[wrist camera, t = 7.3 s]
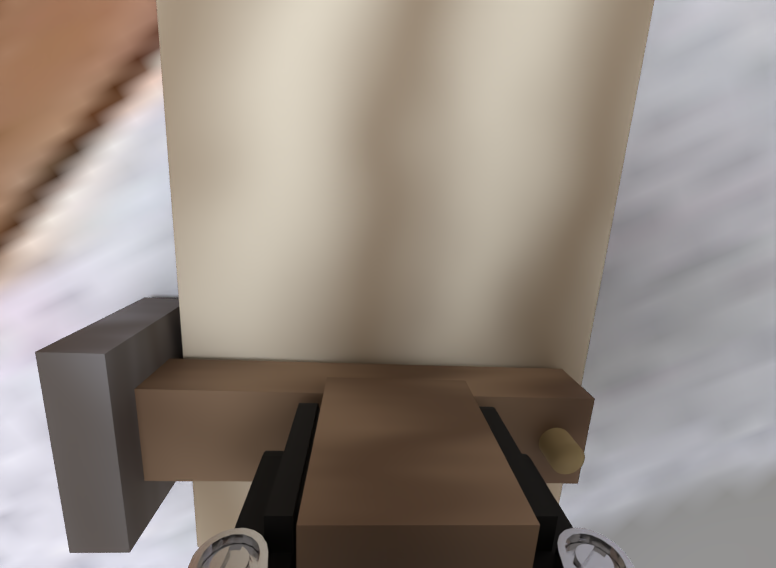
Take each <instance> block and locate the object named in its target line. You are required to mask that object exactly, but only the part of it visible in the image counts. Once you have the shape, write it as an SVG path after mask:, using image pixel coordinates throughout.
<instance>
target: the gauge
mask: <svg viewBox="0 0 776 568" xmlns="http://www.w3.org/2000/svg"><path fill="white" fill-rule="evenodd" d="M35 354H36V360H37V366H38V372H39V377H40V383H41V389H42V395H43V401H44V406H45V412H46V418H47V424H48V430H49V435H50V441H51V447H52V453H53V459H54V464H55V470H56V476H57V482H58V488H59V493H60V499H61V505H62V511H63V517H64V522H65V528H66V534H67V540H68V545H69V551H70V553H121V552H130V551H131V550H132V548H133V547H134V545H135V544H136V542H137V541H138V539H139V537H140V536H141V534H142V533H143V531H144V530H145V528H146V527H147V525H148V524H149V522H150V520H151V519H152V517H153V516H154V514H155V513H156V511H157V510H158V508H159V506H160V505H161V503H162V502H163V500H164V499H165V497H166V496H167V494H168V493H169V491H170V489H171V488H172V486H173V485H174V483H175V482H176V481H243V482H252V481H253V479H254V476H255V473H256V471H257V468H258V466H259V463H260V460H261V458H262V455H263V453H264V452H265V451H284V449H285V446H286V443H287V439H288V436H289V433H290V430H291V427H292V423H293V420H294V417H295V414H296V410H297V407H298V404H299V403H318V404H319V408H320V413H319V418H318V423H317V428H316V432H315V437H314V442H313V447H312V452H311V457H310V462H309V466H308V471H307V476H306V481H305V486H304V491H303V496H302V501H301V505H300V510H299V515H298V520H297V525H296V568H532V567H533V562H534V556H535V550H536V545H537V539H538V534H539V528H540V524H539V522H538V520H537V518H536V516H535V514H534V512H533V510H532V508H531V507H530V505H529V503H528V501H527V499H526V497H525V495H524V493H523V491H522V489H521V487H520V485H519V483H518V481H517V479H516V477H515V476H514V474H513V472H512V470H511V468H510V466H509V464H508V462H507V460H506V458H505V456H504V454H503V452H502V450H501V448H500V446H499V445H498V443H497V441H496V439H495V437H494V435H493V433H492V431H491V429H490V427H489V425H488V423H487V421H486V419H485V417H484V415H483V414H482V412H481V410H480V408H479V406H482V407H494V408H495V409H496V411H497V412H498V414H499V416H500V417H501V419H502V421H503V423H504V424H505V426H506V428H507V429H508V431H509V433H510V435H511V436H512V438H513V440H514V441H515V443H516V445H517V446H518V448H519V450H520V452H521V453H522V454H527V455H528V456H529V457H530V458H531V460H532V461H533V463H534V465H535V466H536V468H537V469H538V471H539V473H540V474H541V476H542V478H543V479H544V481H545V483H578V479H579V474H580V469H581V466H582V465H583V463H584V459H585V455H584V450H585V445H586V440H587V435H588V430H589V425H590V420H591V415H592V410H593V405H594V400H595V399H594V398H593V397H592V396H591V395H590V394H589V393H588V392H587V391H586V390H585V389H584V388H582V387H581V386H580V385H579V384H578V383H577V382H576V381H575V380H574V379H573V378H572V377H571V376H569V375H568V374H567V373H566V372H565V371H564V370H563V369H551V368H513V367H475V366H437V365H399V364H360V363H322V362H284V361H246V360H208V359H183V347H182V334H181V321H180V307H179V299H170V298H143V299H141V300H139V301H137V302H135V303H133V304H131V305H129V306H127V307H125V308H123V309H121V310H119V311H117V312H115V313H113V314H111V315H109V316H107V317H105V318H103V319H101V320H99V321H97V322H95V323H93V324H91V325H89V326H87V327H85V328H83V329H81V330H79V331H77V332H75V333H73V334H71V335H68V336H66V337H64V338H62V339H60V340H58V341H56V342H54V343H52V344H50V345H48V346H46V347H44V348H42V349H40V350H38V351H36V352H35Z"/></svg>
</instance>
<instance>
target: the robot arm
mask: <svg viewBox="0 0 776 568" xmlns="http://www.w3.org/2000/svg"><path fill="white" fill-rule="evenodd" d="M479 408H480V410H481V412H482V414H483V415H484V417H485V419H486V421H487V423H488V425H489V427H490V429H491V431H492V433H493V435H494V437H495V439H496V441H497V443H498V445H499V446H500V448H501V450H502V452H503V454H504V456H505V458H506V460H507V462H508V464H509V466H510V468H511V470H512V472H513V474H514V476H515V477H516V479H517V481H518V483H519V485H520V487H521V489H522V491H523V493H524V495H525V497H526V499H527V501H528V503H529V505H530V507H531V508H532V510H533V512H534V514H535V516H536V518H537V520H538V522H539V524H540V528H539V534H538V539H537V545H536V550H535V556H534V562H533V567H532V568H634V566H633V564H632V562H631V561H630V559H629V558H628V557H627V555H626V553H625V552H624V551H623V550H622V549H621V548H620V547H619V546H618V545H617V544H616V543H614V542H613V541H611V540H610V539H608V538H607V537H606V536H604V535H602V534H599V533H597V532H595V531H592V530H589V529H585V528H573V527H572V525H571V524H570V522H569V520H568V519H567V517H566V516H565V514H564V512H563V511H562V509H561V507H560V506H559V504H558V502H557V501H556V499H555V497H554V496H553V494H552V492H551V491H550V489H549V488H548V486H547V484H546V483H545V481H544V479H543V478H542V476H541V474H540V473H539V471H538V469H537V468H536V466H535V465H534V463H533V461H532V460H531V458H530V457H529V456H528V455H527V454H522V453H521V452H520V450H519V448H518V446H517V445H516V443H515V441H514V440H513V438H512V436H511V435H510V433H509V431H508V429H507V428H506V426H505V424H504V423H503V421H502V419H501V417H500V416H499V414H498V412H497V411H496V409H495V408H494V407H482V406H479ZM319 413H320V408H319V404H318V403H299V404H298V407H297V410H296V414H295V417H294V420H293V423H292V427H291V430H290V433H289V436H288V439H287V443H286V446H285V449H284V451H265V452H264V453H263V455H262V458H261V460H260V463H259V466H258V468H257V471H256V473H255V476H254V479H253V481H252V484H251V486H250V489H249V492H248V494H247V497H246V499H245V502H244V505H243V507H242V510H241V512H240V515H239V517H238V520H237V523H236V525H235V528H233V529H230V530H226V531H222V532H220V533H218V534H216V535H215V536H213V537H211V538H210V539H208V540H207V541H206V542H205V543H203V544H202V545H201V546H200V547H199V549H198V550H197V551H196V552H195V554H194V555H193V557H192V559H191V562H190V564H189V566H188V568H296V525H297V520H298V515H299V510H300V505H301V501H302V496H303V491H304V486H305V481H306V476H307V471H308V466H309V462H310V457H311V452H312V447H313V442H314V437H315V432H316V428H317V423H318V418H319Z"/></svg>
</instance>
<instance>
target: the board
mask: <svg viewBox="0 0 776 568" xmlns="http://www.w3.org/2000/svg"><path fill="white" fill-rule="evenodd" d="M156 3H157V17H158V30H159V43H160V56H161V69H162V83H163V96H164V109H165V122H166V136H167V149H168V162H169V175H170V188H171V202H172V215H173V228H174V241H175V254H176V268H177V281H178V294H179V307H180V321H181V334H182V347H183V359H208V360H246V361H284V362H322V363H360V364H399V365H437V366H475V367H513V368H551V369H563V370H564V371H565V372H566V373H567V374H568V375H569V376H571V377H572V378H573V379H574V380H575V381H576V382H577V383H578V384H579V385H580V386H581V384H582V379H583V374H584V368H585V363H586V358H587V352H588V347H589V342H590V337H591V331H592V326H593V321H594V316H595V310H596V305H597V300H598V295H599V289H600V284H601V279H602V273H603V268H604V263H605V258H606V252H607V247H608V242H609V237H610V231H611V226H612V221H613V216H614V210H615V205H616V200H617V194H618V189H619V184H620V179H621V173H622V168H623V163H624V158H625V152H626V147H627V142H628V136H629V131H630V126H631V121H632V115H633V110H634V105H635V100H636V94H637V89H638V84H639V79H640V73H641V68H642V63H643V57H644V52H645V47H646V42H647V36H648V31H649V26H650V21H651V15H652V10H653V5H654V0H156ZM251 484H252V482H243V481H193V492H194V506H195V519H196V532H197V545H198V547H200V546H201V545H202V544H203V543H205V542H206V541H207V540H208V539H210V538H211V537H213V536H215V535H216V534H218V533H220V532H222V531H226V530H230V529H233V528H235V525H236V523H237V520H238V517H239V515H240V512H241V510H242V507H243V505H244V502H245V499H246V497H247V494H248V492H249V489H250V486H251ZM546 484H547V486H548V488H549V489H550V491H551V492H552V494H553V496H554V497H555V499H556V501H557V502H558V504H559V500H560V495H561V489H562V484H563V483H546Z"/></svg>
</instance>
